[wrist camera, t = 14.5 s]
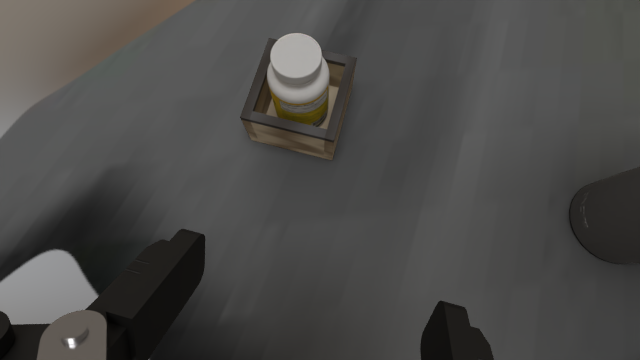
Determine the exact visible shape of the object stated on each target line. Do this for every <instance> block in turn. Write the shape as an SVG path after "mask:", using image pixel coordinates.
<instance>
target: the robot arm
mask: <svg viewBox="0 0 640 360" xmlns="http://www.w3.org/2000/svg"><path fill="white" fill-rule="evenodd" d="M570 220H571V224H572V228H573V230H574V232H575V234H576V236H577V238H578V239H579V241H580V242H581V243H582V245H583V246H584V247H585V248H586V249H587V250H588V251H589V252H591V253H592V254H594V255H595V256H597V257H598V258H601V259H603V260H605V261H608V262H612V263H616V264H631V263H640V167H637V168H634V169H631V170H629V171H626V172H623V173H620V174H617V175H614V176H611V177H609V178H606V179H603V180H600V181H598V182H595V183H592V184H590V185H587V186H585V187H584V188H582V189H581V190H580V191H579V192H578V193H577V194H576V195H575V197H574V199H573V201H572V203H571V209H570ZM204 266H205V236H204V234H200V233H197V232H193V231H189V230H186V229H181V230H179V231H178V232H177V233H176V235H175V236H174V237H173V238H172V239H171V240H170V241H166V240H163V239H162V240H160V241H158V242H156V243H154V244H152V245H150V246H148V247H147V248H146V249H145V250H144V251H143V252H142V253H141V254H140V255H139V256H138V257H137V258H136V259H135V261H133V262H132V263H131V264H130V265H129V266H128V267H127V268H126V270H125V271H123V272H122V273H121V274H120V275H119V276H118V277H117V278H116V279H115V280H114V281H113V282H112V283H111V284H110V285H109V286H108V287H107V288H106V289H105V290H104V291H103V293H102V294H101V295H100V296H99V297H98V298H97V299H96V300H95V301H94V302H93V303H92V304H91V305H90V306H89V307H88V308H87V309H85V310H81V311H76V312H72V313H69V314H66V315H64V316H62V317H60V318H59V319H57V320H56V321H54V322H53V323H52V324H24V325H11V323H10V320H9V318H8V316H7V315H6V314H5V313H3V312H1V311H0V360H148V359H149V357H150V356H151V354H152V353H153V351H154V350H155V348H156V347H157V346H158V344H159V343H160V341H161V340H162V338H163V337H164V335H165V334H166V332H167V331H168V329H169V328H170V326H171V325H172V323H173V322H174V320H175V319H176V317H177V316H178V314H179V313H180V311H181V310H182V308H183V307H184V305H185V304H186V302H187V301H188V300H189V298H190V297H191V295H192V294H193V292H194V291H195V289H196V288H197V286H198V285H199V283H200V281H201V278H202V276H203V272H204ZM420 349H421V360H494V359H493V355H492V351H491V348H490V345H489V343H488V342H487V340H486V339H485V337H484V335H483V334H482V332H481V331H480V329H478V328H475V327H471V326H470V323H469V319H468V314H467V311H466V309H465V307H462V306H459V305H455V304H451V303H448V302H444V301H439V302H438V304H437V305H436V307H435V309H434V311H433V313H432V315H431V317H430V319H429V321H428V323H427V325H426V327H425V329H424V331H423V334H422V338H421V348H420Z"/></svg>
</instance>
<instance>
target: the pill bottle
mask: <svg viewBox="0 0 640 360" xmlns="http://www.w3.org/2000/svg"><path fill="white" fill-rule="evenodd" d="M270 60H271V62H270V64H269V66H268V70H267V80H268V85H269V88H270V92H271V96H272V99H273V103H274V106H275V110H276V113H277V116H278V117H279V118H283V119H287V120H291V121H295V122H299V123H303V124H307V125H311V126H315V127H320V126H321V125H322V124H323V122H324V121H325V119H326V117H327V114H328V104H329V79H330V74H329V68H328V65H327V63H326V61H325V59H324V58H323V57H322V52H321V48H320V46H319V44H318V43H317V42H316V41H315V40H314V39H313V38H312V37H310V36H308V35H305V34H301V33H292V34H288V35H285V36H283V37H281V38H280V39H279V40H278V41H277V42H276V43H275V44H274V45H273V47H272V50H271V54H270Z"/></svg>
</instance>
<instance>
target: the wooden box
mask: <svg viewBox="0 0 640 360" xmlns="http://www.w3.org/2000/svg"><path fill="white" fill-rule="evenodd" d="M277 41H278V40H276V39H271V38H269V39H268V42H267V45H266V48H265V50H264V53H263V56H262V59H261V61H260V64H259V67H258V70H257V72H256V75H255V78H254V81H253V83H252V86H251V89H250V92H249V94H248V97H247V100H246V103H245V106H244V108H243V111H242V114H241V117H240V118H241V120H242V122H243V124H244V126H245V128H246V130H247V132H248V134H249V136H250V138H251V140H253V141H257V142H261V143H265V144H269V145H273V146H277V147H281V148H285V149H289V150H293V151H297V152H301V153H305V154H309V155H313V156H317V157H321V158H324V159H328V160H332V159H333V155H334V152H335V148H336V144H337V141H338V137H339V133H340V130H341V126H342V122H343V119H344V115H345V111H346V108H347V104H348V100H349V97H350V93H351V89H352V84H353V78H354V72H355V66H356V60H357V58H355V57H350V56H346V55H341V54H337V53H333V52H328V51H324V50H321V52H322V57H323V58H324V59H325V61H326V63H327V65H328V68H329V74H330V79H329V104H328V114H327V117H326V119H325V121H324V122H323V124H322V125H321V126H320V127H315V126H311V125H307V124H303V123H299V122H295V121H291V120H287V119H283V118H279V117H278V116H277V113H276V110H275V106H274V103H273V99H272V96H271V92H270V88H269V85H268V80H267V70H268V66H269V64H270V62H271V60H270V54H271V50H272V47H273V45H274V44H275V43H276V42H277Z"/></svg>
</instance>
